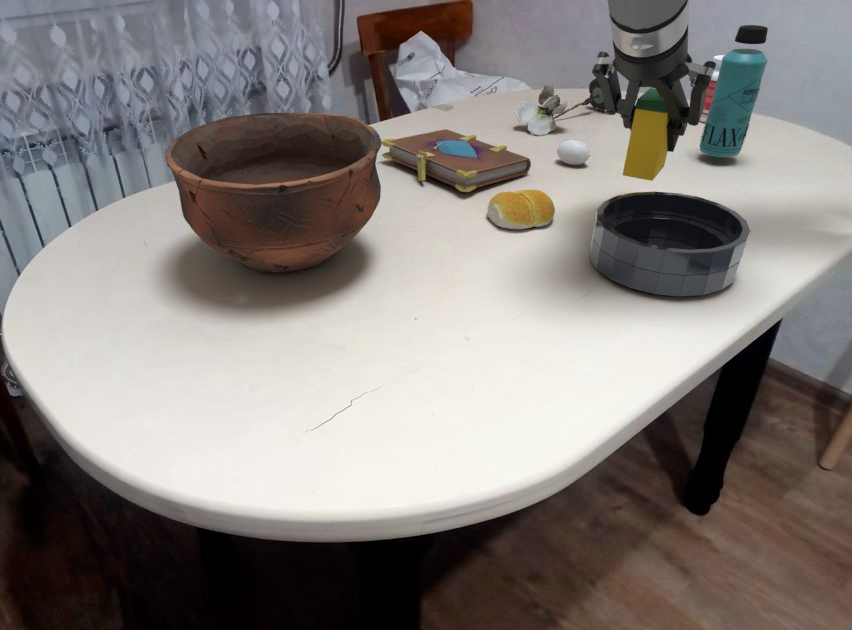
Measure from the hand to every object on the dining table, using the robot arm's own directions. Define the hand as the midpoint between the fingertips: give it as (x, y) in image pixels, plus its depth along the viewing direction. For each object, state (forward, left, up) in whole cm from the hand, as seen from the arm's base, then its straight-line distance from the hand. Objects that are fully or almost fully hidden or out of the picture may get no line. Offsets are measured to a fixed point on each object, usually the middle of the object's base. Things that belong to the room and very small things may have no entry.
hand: (655, 139), depth 91 cm
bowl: (+34, +40, -9) cm, 53 cm away
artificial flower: (+23, -31, -9) cm, 39 cm away
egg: (+14, -9, -9) cm, 19 cm away
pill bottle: (-1, -44, -9) cm, 45 cm away
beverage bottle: (-6, -22, -9) cm, 25 cm away
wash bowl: (-7, +19, -9) cm, 22 cm away
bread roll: (+13, +15, -9) cm, 22 cm away
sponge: (0, +4, -3) cm, 5 cm away
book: (+32, +2, -9) cm, 33 cm away
